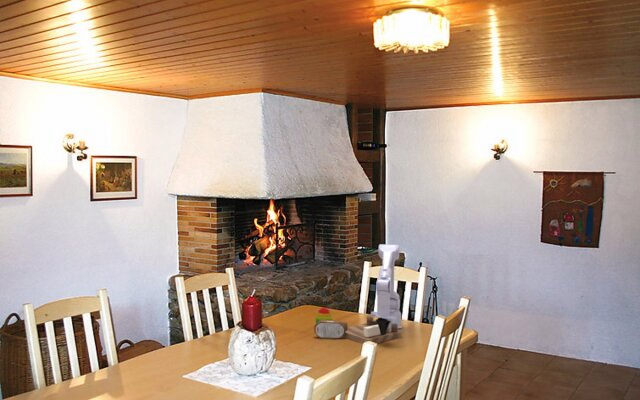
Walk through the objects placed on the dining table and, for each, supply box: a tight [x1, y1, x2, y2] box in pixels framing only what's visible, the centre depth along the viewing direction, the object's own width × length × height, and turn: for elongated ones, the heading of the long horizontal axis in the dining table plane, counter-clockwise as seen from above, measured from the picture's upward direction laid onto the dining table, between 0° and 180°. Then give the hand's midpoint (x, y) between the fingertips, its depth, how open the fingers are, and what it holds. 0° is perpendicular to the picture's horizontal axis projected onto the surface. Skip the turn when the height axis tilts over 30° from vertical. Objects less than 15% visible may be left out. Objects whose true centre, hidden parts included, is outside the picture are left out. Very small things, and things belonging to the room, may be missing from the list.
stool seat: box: [341, 316, 403, 345], centre depth 283 cm, size 22×22×6 cm
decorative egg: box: [315, 307, 333, 324], centre depth 299 cm, size 8×8×10 cm
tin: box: [313, 320, 346, 340], centre depth 280 cm, size 15×3×8 cm, turn 84°
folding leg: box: [364, 325, 389, 337], centre depth 277 cm, size 15×3×4 cm, turn 129°
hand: (383, 334), depth 270 cm, fingers closed
